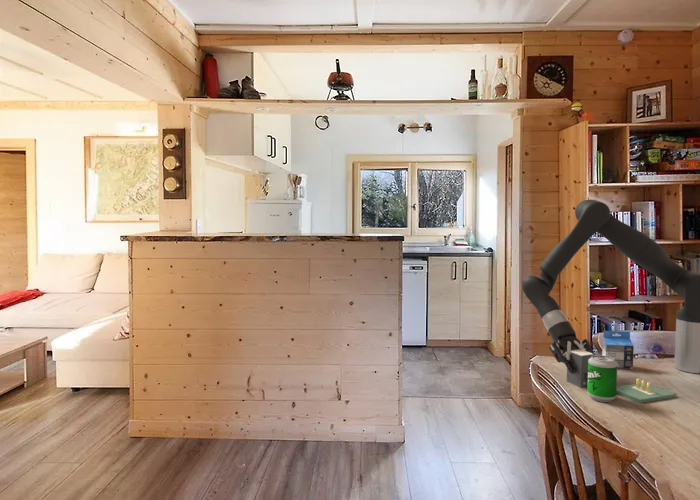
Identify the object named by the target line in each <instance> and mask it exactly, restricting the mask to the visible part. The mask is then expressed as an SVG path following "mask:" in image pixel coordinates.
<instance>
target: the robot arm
mask: <svg viewBox="0 0 700 500" xmlns="http://www.w3.org/2000/svg"><path fill="white" fill-rule="evenodd" d="M574 213H575V214H574V215H575V217H576V220H577V222H576V224H575V225H574V227H573V229H571V231H570V232H569V233H568V234H567V235H566V236H565V237H564V238H563V239H562V240H560V241H559V242H558V243H557V244H556V245H555V246H554V247H553V248H552V249H551V250H550V252H549V253H548V254H547V255H546V256H545V258H544V259H543V260H542V261H541V263H540V265H539V270H540V271H541V272H540V274H539V276H535V275H528V276H526V277H524V279H523V280H522V283H521V289H522V291H523V293H524V294H525V295H524V296H526V298H527V299H528V300H529V301H530V303H531V304H532V305H533V306H534V307H535V309H536V310H537V312H538V315H539V316H540V319H541V320H542V321H543V322H542V323H543V325H544V327H545V330H547V332H548V334H549V336H550V338H551V340H552V343H551V344H550V345H549V346H548V348H549V350H550V351H551V353H552V355H553V357H554V359H555V360H556V362H558V363H559V364H560V363H563V364H564V365H565V367H566V370H567V369H568V370H569V372H571V374H574V373H576V372H577V369H576V368H575V366H574V364H573V362H572V361H571V360H570V354H571V350H578V349H580V350H584V351H587V352H590V353H592V354H594V355H596V354H595V352H594V350H593V348H592V347H591V344H590V342H589V341H588V339H586V338H585V339H583V340H580V339H578V338H577V334H576V331H575V329H574V327H573V325H572V324H571V323H570V320H569V319H568V318H567V315H566V314H565V313H564V312H563V310H562V308H561V307H560V306H559V304H558V302H557V301H556V300H555V298H553V297H552V296H551V295H550V294H551V291H552V290H553V289H554V288H553V287H554V286H555V283H556V282H557V279H558V277H559V276H560V274H561V273H562V271H563V270H564V269H565V268H566V267H567V265H568V264H569V262H570V261H571V260H572V259H573V257H574V256H575V255H576V254H577V253H578V252H579V251H580V249H581V248H582V247H583V246H584V245H585V244H586V243H587V242H588V241H589V240H590V239H591V238H592V237H593V236H595V234H596V233H598V234H599V235H601V236H602V237H604V238H605V239H606V240H607V241H608V242H609V243H610V244H612V246H614V247H615V248H616V249H617V250H618V251H619V252H621V253H622V254H623V255H625V256H626V257H627V258H629V260H631V261H633V262H634V263H635V264H637V265H638V266H640V267H641V268H643V269H645V271H647V272H649V273H650V274H652V275H653V276H655V277H656V278H659V279H660V280H661V281H662V282H663V283H664V284H665V285H666V286H667V287H669V289H670V290H672V291H673V292H674V293H675V294H677V295H678V296H679V297H681V298H684V302H683V307H682V308H681V309H680V308H679V309H678V310H677V311H676V317H675V319H676V320H675V339H674V340H675V343H674V368H675V369H677V370H679V371H682V372H685V373H690V374H691V373H692V374H700V273H696V272H692V271H690V270H688V269H685V268H684V267H682V266H681V265H679V264H678V263H676V262H675V261H673V259H671V258H670V256H669V255H668V254H667V252H666V250H665V249H664V248H663V247H662V246H661V245H660V244H659V243H657V242H656V241H655V240H653V239H652V238H651V237H649V236H648V235H646V234H644V233H643V232H641V230H638V229H636V228H635V227H633V226H631V225H629V224H627V223H624V222H623V221H621V220H620V219H618V218H617V217H615V216H614V215H613V214H612V213H611V209H610V207H609V206H608V205H607V204H606V203H604V202H602V201H599V200H596V199H585V200H582V201H580V202H578V204H577V205H576V207H575V210H574Z"/></svg>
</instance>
